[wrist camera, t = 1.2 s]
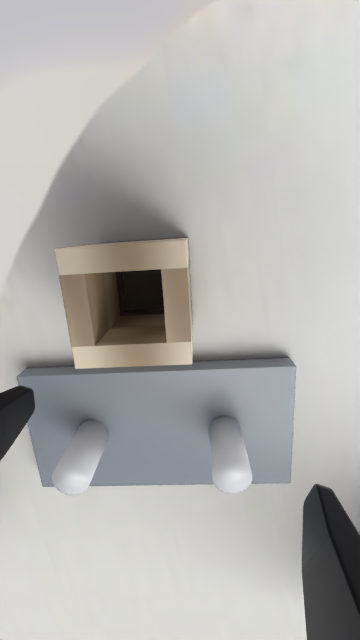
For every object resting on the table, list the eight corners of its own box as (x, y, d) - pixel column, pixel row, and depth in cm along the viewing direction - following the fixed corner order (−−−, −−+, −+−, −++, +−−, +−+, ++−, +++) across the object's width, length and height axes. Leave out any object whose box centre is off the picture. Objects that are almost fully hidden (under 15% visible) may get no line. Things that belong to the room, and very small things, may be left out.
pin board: (50, 472, 26) (10, 540, 20) (27, 367, 23) (-27, 412, 18) (284, 468, 25) (312, 539, 19) (289, 357, 22) (323, 401, 16)
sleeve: (111, 326, 22) (75, 368, 15) (100, 243, 20) (54, 248, 14) (192, 323, 22) (192, 364, 15) (188, 237, 20) (185, 240, 13)
